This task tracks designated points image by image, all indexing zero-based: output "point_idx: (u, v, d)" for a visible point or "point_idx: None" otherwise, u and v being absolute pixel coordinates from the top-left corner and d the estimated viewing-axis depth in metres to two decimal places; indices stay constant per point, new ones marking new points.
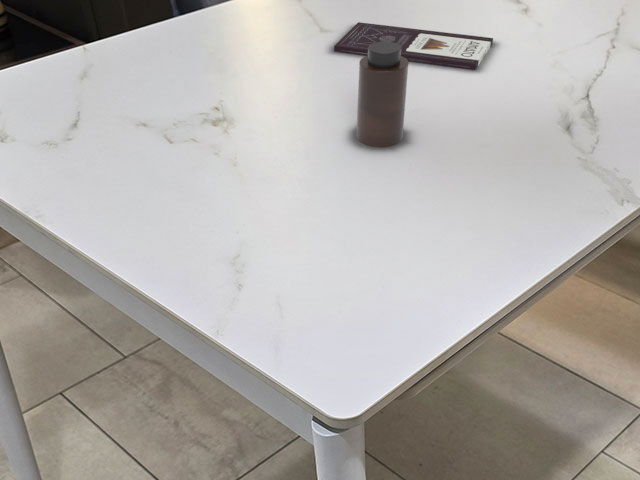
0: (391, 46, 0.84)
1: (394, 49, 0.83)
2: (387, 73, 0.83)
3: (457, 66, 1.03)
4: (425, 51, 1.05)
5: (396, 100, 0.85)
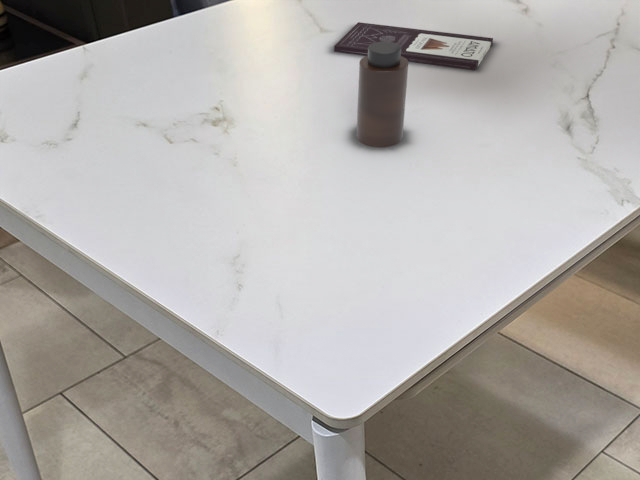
0: (391, 46, 0.84)
1: (394, 49, 0.83)
2: (387, 73, 0.83)
3: (457, 66, 1.03)
4: (425, 51, 1.05)
5: (396, 100, 0.85)
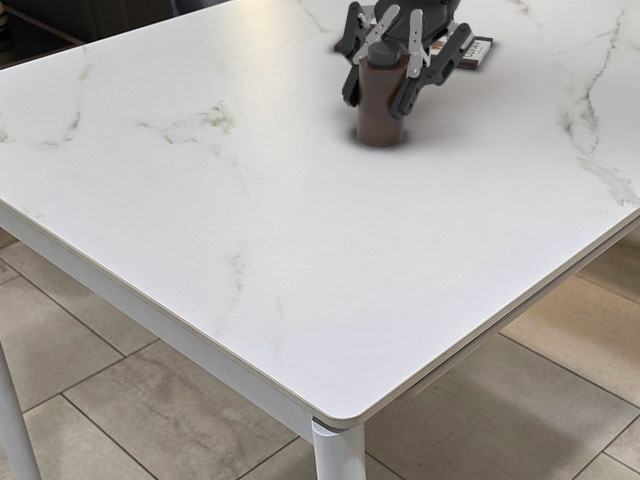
0: (391, 46, 0.84)
1: (394, 49, 0.83)
2: (387, 73, 0.83)
3: (457, 66, 1.03)
4: None
5: None
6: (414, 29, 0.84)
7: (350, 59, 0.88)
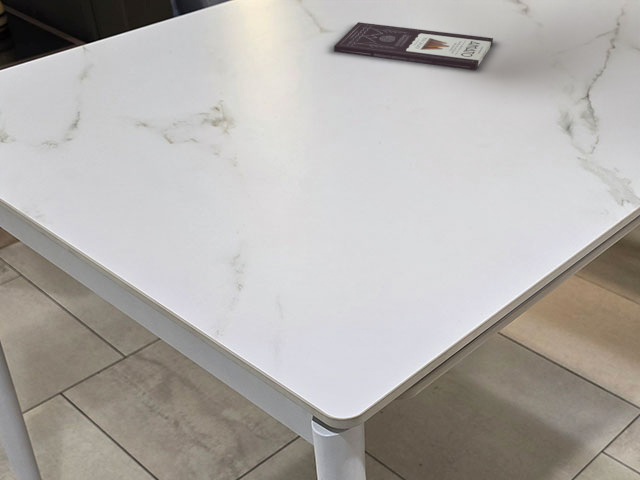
0: None
1: None
2: None
3: (457, 66, 1.03)
4: (425, 51, 1.05)
5: None
6: None
7: None
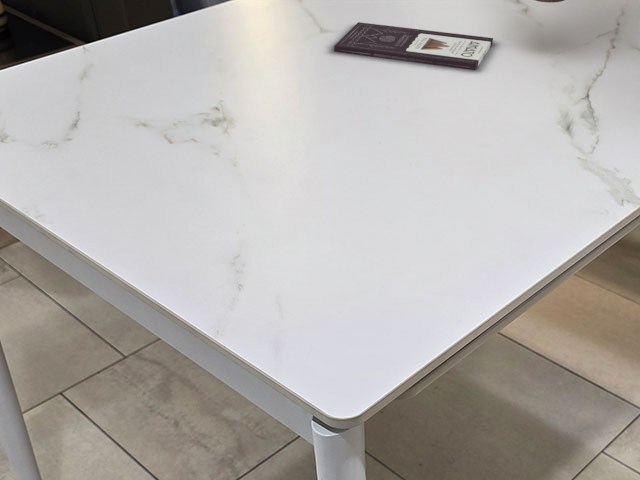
0: None
1: None
2: None
3: (457, 66, 1.03)
4: (425, 51, 1.05)
5: None
6: None
7: None
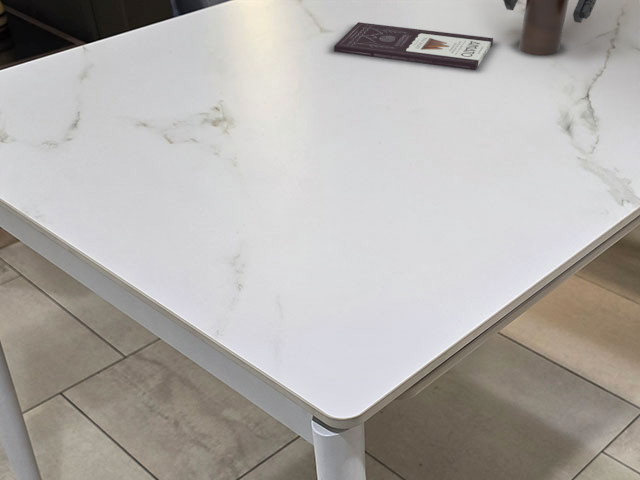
0: None
1: None
2: None
3: (457, 66, 1.03)
4: (425, 51, 1.05)
5: (560, 13, 1.02)
6: None
7: None
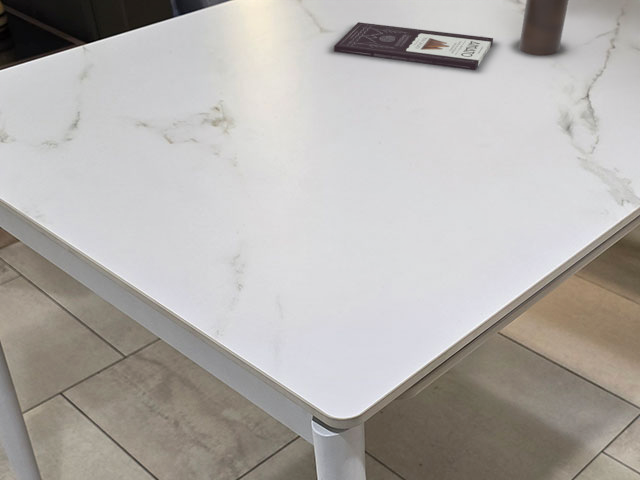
0: None
1: None
2: None
3: (457, 66, 1.03)
4: (425, 51, 1.05)
5: (560, 13, 1.02)
6: None
7: None
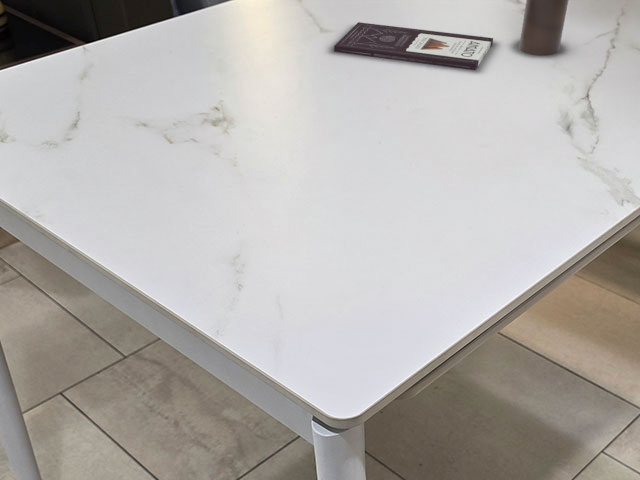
0: None
1: None
2: None
3: (457, 66, 1.03)
4: (425, 51, 1.05)
5: (560, 13, 1.02)
6: None
7: None
